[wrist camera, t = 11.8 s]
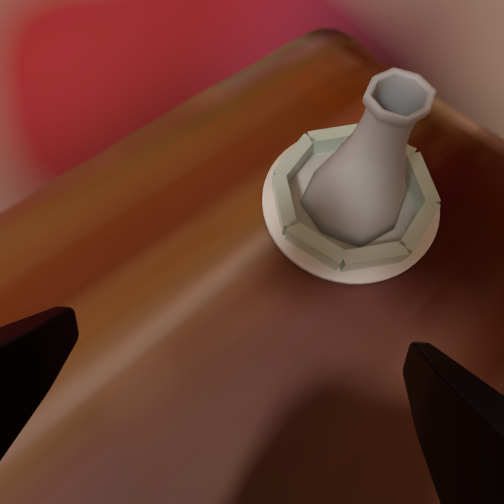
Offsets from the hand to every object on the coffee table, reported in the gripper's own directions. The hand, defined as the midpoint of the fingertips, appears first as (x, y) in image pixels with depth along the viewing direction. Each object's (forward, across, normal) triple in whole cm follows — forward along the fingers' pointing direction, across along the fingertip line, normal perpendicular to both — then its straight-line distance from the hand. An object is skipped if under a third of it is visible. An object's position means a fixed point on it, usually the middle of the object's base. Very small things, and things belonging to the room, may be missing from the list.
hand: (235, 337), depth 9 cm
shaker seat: (+18, -6, +1) cm, 19 cm away
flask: (+18, -6, +1) cm, 19 cm away
